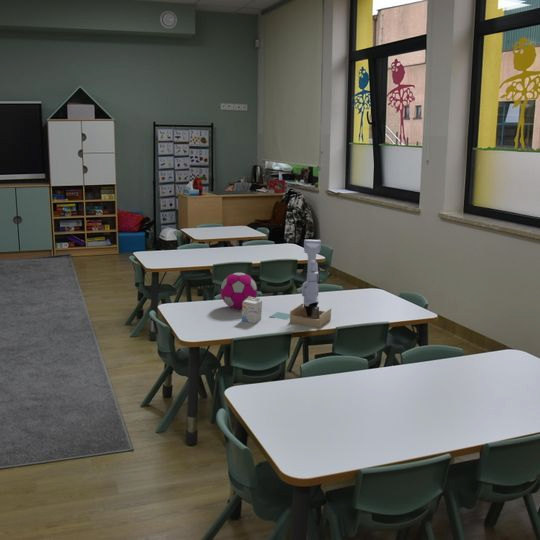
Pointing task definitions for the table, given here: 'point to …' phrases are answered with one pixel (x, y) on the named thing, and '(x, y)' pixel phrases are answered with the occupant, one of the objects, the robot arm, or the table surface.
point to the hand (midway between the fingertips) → (310, 315)
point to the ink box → (252, 310)
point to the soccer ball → (238, 289)
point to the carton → (298, 318)
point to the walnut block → (314, 313)
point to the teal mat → (281, 315)
